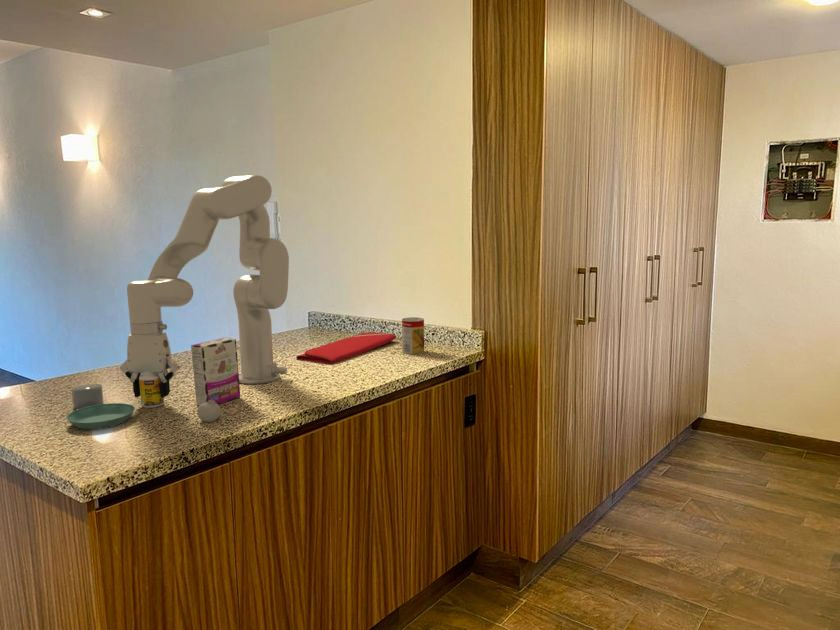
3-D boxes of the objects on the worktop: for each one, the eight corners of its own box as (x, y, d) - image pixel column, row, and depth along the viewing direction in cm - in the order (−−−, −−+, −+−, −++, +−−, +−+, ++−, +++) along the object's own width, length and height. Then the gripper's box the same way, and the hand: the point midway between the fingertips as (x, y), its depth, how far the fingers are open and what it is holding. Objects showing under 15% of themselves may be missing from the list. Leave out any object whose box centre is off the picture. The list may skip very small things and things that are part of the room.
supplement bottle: (143, 410, 158) (140, 371, 156) (139, 404, 163) (136, 366, 161) (166, 406, 161) (163, 368, 159) (162, 401, 166) (159, 363, 164)
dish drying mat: (295, 361, 212) (294, 350, 211) (364, 339, 247) (363, 330, 246) (331, 366, 204) (331, 355, 203) (397, 343, 239) (397, 333, 238)
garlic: (226, 420, 150) (225, 399, 149) (205, 426, 146) (204, 404, 145) (213, 415, 153) (212, 394, 153) (193, 420, 149) (191, 399, 149)
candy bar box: (228, 395, 171) (224, 336, 168) (241, 397, 168) (237, 338, 165) (194, 405, 161) (190, 344, 159) (207, 408, 159) (203, 346, 156)
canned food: (428, 351, 222) (428, 318, 220) (416, 355, 216) (416, 321, 214) (410, 348, 226) (409, 316, 224) (398, 353, 220) (397, 319, 218)
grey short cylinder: (109, 402, 165) (107, 384, 165) (93, 410, 158) (91, 391, 158) (84, 401, 166) (82, 383, 165) (67, 410, 159) (65, 391, 158)
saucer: (59, 436, 141) (58, 424, 140) (76, 416, 155) (75, 406, 154) (130, 429, 145) (129, 418, 144) (140, 410, 159) (139, 400, 158)
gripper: (185, 326, 162) (190, 392, 164) (122, 326, 163) (128, 391, 166) (172, 331, 154) (177, 400, 157) (105, 331, 156) (112, 400, 158)
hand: (152, 395), depth 161 cm, fingers open, 6 cm apart
